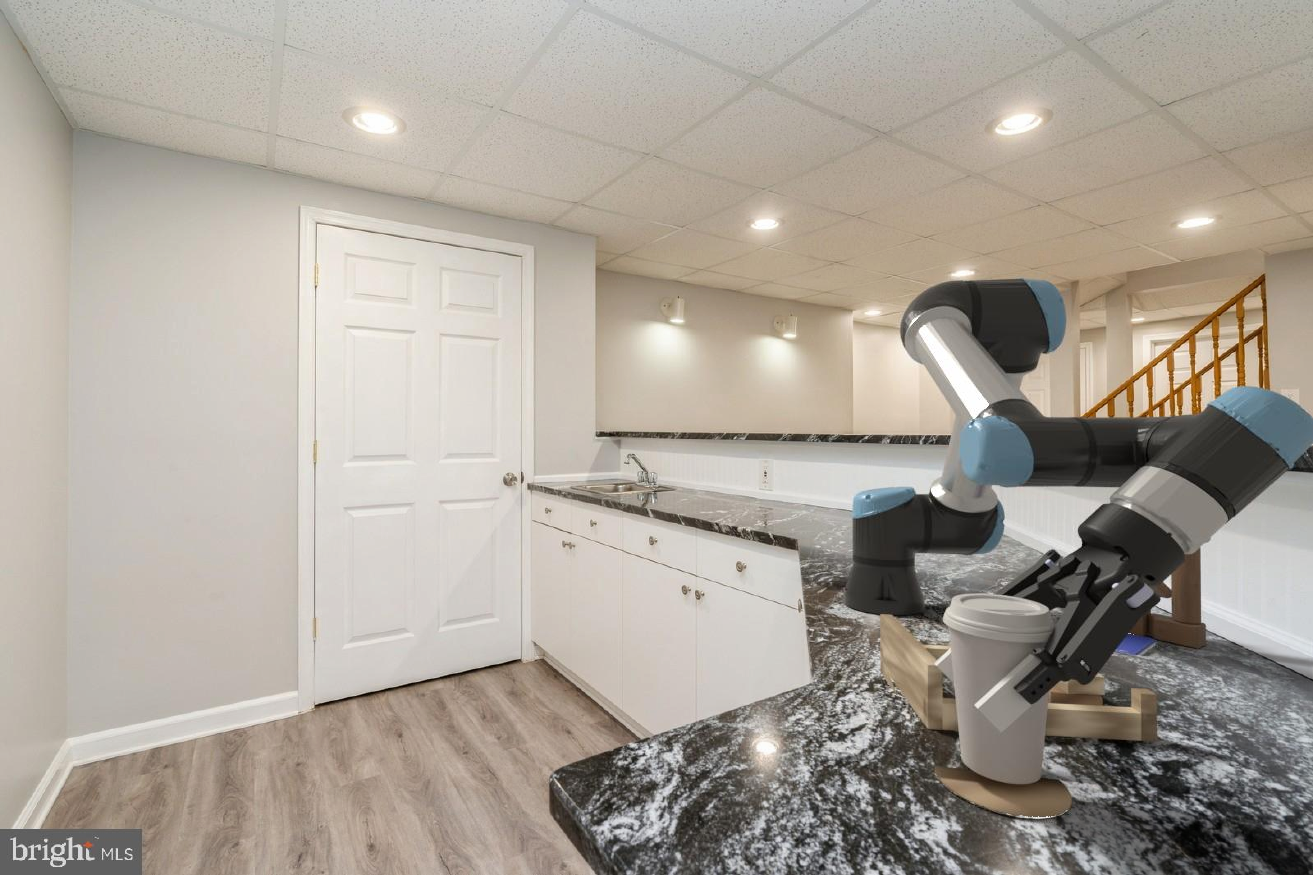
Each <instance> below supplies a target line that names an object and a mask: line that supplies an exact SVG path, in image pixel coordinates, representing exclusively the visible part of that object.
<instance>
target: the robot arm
mask: <svg viewBox="0 0 1313 875" xmlns="http://www.w3.org/2000/svg"><path fill="white" fill-rule="evenodd" d="M899 326H900V328H899V334H900V339H901V343H902V345H903V348H904V349H905V351H906V352H907V354H908V356H909V357H910V358H911V359H912V360H913V361H915V362H916V363H918V364H921V365H923V366H924V367H925V369H926V370H927V372H928V374H929V376H930V377H931V378H932V380H933V382H934V384H936V386H937V388H938V389H939V391H940V392H941V394H942V395H943V397H944V399H945V400H946V402H947V403H948V405H949V407H950V408H951V409H952V412H954V414H955V417H954V421H953V425H952V431H951V436H950V439H949V443H948V448H947V451H946V456H945V457H946V458H945V460H944V466H943V469H942V474H941V476H939V477H937V478H936V479H934V480H933V481H932V482H931V484H930V487H929V492H928V493H917V492H916V490H915V488H914V487H912V486H896V487H895V486H890V487H880V488H872V489H867V490H862V491H860V492H857V493H856V494H855V495H854V497H853V500H852V512H851V514H850V515H851V518H852V519H851V520H852V565H851V569H850V571H849V573H848V578H847V582H846V586H845V587H844V589H843V604H844V605H845V606H847V607H849V608H851V609H854V610H857V611H860V612H866V613H869V614H875V615H876V614H878V615H880V614H887V615H892V616H909V615H918V614H921V613H923V612H924V611H926V602H925V601H926V599H925V595H924V593H923V591H922V587H921V585H920V581H919V577H918V575H917V572H916V554H933V555H935V554H937V555H963V556H973V555H986V554H989V553H991V552H992V551H994V550H995V549H996V548H997V547H998V545H999V544H1000V542H1001V541H1002V538H1003V535H1004V531H1005V523H1004V521H1005V519H1006V516H1005V515H1006V514H1005V510H1004V507H1003V504H1002V503H1001V501H1000V499H999V498H998V495H997V493H996V492H995V490H994V489H993V486H997V487H998V486H999V487H1002V488H1017V487H1018V488H1019V487H1020V488H1021V487H1023V488H1027V487H1028V488H1031V487H1033V488H1034V487H1036V488H1037V487H1039V488H1040V487H1042V488H1043V487H1046V488H1047V487H1048V488H1049V487H1052V488H1053V487H1058V488H1059V487H1061V488H1062V487H1075V488H1077V487H1078V488H1082V487H1084V488H1117V489H1116V490H1115V491H1114V492H1113V493H1112V494H1111V495H1110V497H1109V503H1108V502H1107V503H1102V504H1101V505H1100V506H1098V507H1097V508H1096V509H1095V511H1093V512H1092V513H1091V514H1090V515H1089V516H1088V517H1087V518H1085V519H1084V520H1083V522H1081V524H1079V525H1078V528H1077V535H1078V537H1079V538H1080V540H1081V546H1080V547H1079V548H1077V549H1076V550H1074V551H1073V552H1071V553H1069V554H1067V555H1066V556H1062V555H1061V554H1060V553H1059V552H1058V551H1057V550H1056V549H1053V548H1052V549H1049V550H1047V551H1046V552H1045V553H1044V554H1043V556H1042V557H1040V558H1039V559H1038V561H1036V563H1034V564H1033V565H1031V566H1030V567H1029V568H1028V569H1026V570H1025V571H1023V572H1022V573H1021V574H1019V575H1018V576H1016V578H1014V579H1012V580H1011V581H1010V582H1008V583H1007V584H1006V585H1004V586H1003V587H1002V588H1000V589H999V590H998V591H996V592H995V593H994V594H996V595H1005V596H1012V597H1018V598H1023V599H1027V600H1031V601H1034V602H1038V603H1040V604H1043V605H1045V606H1046V607H1048V609H1049V611H1050V612H1051V611H1052V610H1054V609H1056V608H1060V609H1063V611H1062V613H1061V615H1060V617H1059V619H1058V621H1056V623H1057V624H1056V626H1055V628H1054V630H1053V632H1052V633H1051V635H1050V637H1049V639H1048V641H1047V643H1046V644H1045V646H1044V648H1043V649H1042V648H1035V649H1034V648H1033V650H1032V652H1033V653H1034V654H1035V655H1036V656H1037V657H1038V658H1039V659H1040V660H1041V661H1042V662H1040V661H1039V660H1038V659H1036V658H1035V657H1034V656H1033V655H1031V654H1029V655H1028V656H1027V657H1026V658H1025V659H1024V660H1023V661H1022V662H1021V663H1020V664H1019V665H1017V666H1016V667H1015V668H1014V669H1013V670H1012V671H1011V672H1010V673H1009V674H1008V675H1006V676H1005V677H1004V678H1003V679H1002V680H1001V681H1000V682H999V683H998V684H997V685H995V686H994V687H993V688H992V689H991V690H990V691H989V692H988V693H987V694H986V695H985V696H983V697H982V698H981V699H980V700H979V701H978V702H977V703H976V704H975V706H976V707H977V709H978V710H979V711H980V712H981V713H982V714H983V715H984V716H985V717H986V718H987V719H988V720H989V721H990V722H991V723H992V724H993V725H994V726H995V727H996V728H997V729H998V730H999V731H1000V732H1001V733H1002V732H1003V731H1004V730H1005V729H1006V728H1007V727H1008V726H1009V725H1010V724H1012V723H1013V722H1014V721H1015V720H1016V719H1017V718H1018V717H1019V716H1020V715H1022V714H1023V713H1024V712H1025V711H1026V710H1027V709H1028V708H1029V707H1030V706H1031V705H1033V704H1034V703H1036V702H1037V701H1038V700H1040V699H1041V698H1042V696H1044V695H1045V693H1047V692H1048V691H1050V690H1051V689H1052V688H1053V687H1054V686H1055V685H1056V684H1057V683H1058V682H1060V681H1063V682H1067V681H1069V680H1071V679H1072V680H1077V681H1078V682H1079V683H1080V684H1081V685H1087V684H1089V683H1090V682H1091V681H1092V680H1093V679H1094V678H1095V676H1096V675H1097V674H1099V672H1100V671H1101V670H1102V668H1103V667H1104V666H1105V664H1106V663H1107V662H1108V660H1109V659H1110V658H1111V657H1112V656H1113V653H1114V651H1115V650H1116V649H1117V648H1118V646H1119V645H1120V644H1121V642H1122V641H1123V640H1124V638H1125V637H1126V636H1127V635H1128V633H1129V632H1130V631H1131V629H1132V628H1133V627H1134V625H1135V624H1136V623H1137V622H1138V620H1139V619H1140V618H1141V617H1142V616H1143V615H1144V614H1146V613H1147V612H1148V611H1149V610H1151V611H1152V609H1153V608H1154V607H1156V605H1158V604H1159V603H1161V598H1162V597H1159V596H1158V595H1157V594H1156V593H1155V592H1154V591H1153V590H1152V589H1151V588H1150V587H1155V586H1158V585H1160V584H1161V583H1162V582H1165V581H1166V580H1167V579H1168V578H1169V577H1171V574H1172V573H1173V572H1174V571H1175V570H1177V569H1178V568H1179V567H1180V566H1181V565H1182V564H1183V563H1184V562H1185V554H1193V553H1194V552H1195V551H1197V550H1198V549H1199V548H1200V547H1202V546H1203V545H1204V544H1208V543H1209V542H1210V541H1211V539H1212V537H1213V536H1214V535H1215V534H1216V533H1218V531H1219V530H1220V529H1221V528H1223V527H1224V526H1225V525H1226V524H1227V523H1229V522H1230V521H1231V520H1232V519H1233V518H1235V517H1236V516H1237V515H1238V514H1239V513H1240V512H1242V511H1243V510H1244V509H1245V508H1246V507H1247V506H1249V505H1250V504H1251V503H1252V502H1253V501H1254V500H1256V499H1257V498H1258V497H1259V496H1260V495H1261V494H1262V493H1263V492H1264V491H1266V490H1267V489H1268V488H1269V487H1270V486H1272V485H1273V484H1274V483H1275V482H1276V481H1278V479H1280V478H1281V477H1282V476H1284V474H1285V473H1286V472H1288V471H1290V470H1292V469H1293V468H1294V466H1295V462H1297V461H1298V460H1299V459H1300V458H1301V457H1302V455H1303V454H1305V452H1306V451H1307V450H1309V448H1310V447H1311V446H1312V445H1313V416H1312V415H1311V413H1309V412H1307V411H1306V410H1305V409H1304V408H1302V406H1301V405H1300V404H1298V403H1297V402H1296V401H1294V400H1293V399H1291V398H1289V397H1287V396H1285V395H1283V394H1281V393H1278V392H1276V391H1273V390H1271V389H1266V388H1262V387H1260V386H1259V387H1258V386H1250V385H1249V386H1248V385H1246V386H1245V385H1242V386H1235V387H1232V388H1229V389H1227V390H1226V391H1225V392H1223V393H1222V394H1220V395H1219V396H1218V397H1216V398H1215V399H1213V401H1212V400H1211V401H1209V402H1208V403H1207V404H1206V405H1207V406H1206V407H1205V408H1204V409H1203V410H1202V411H1201V412H1199V413H1196V414H1180V415H1175V416H1144V417H1141V416H1137V417H1135V416H1134V417H1133V416H1132V417H1124V416H1123V417H1121V416H1120V417H1119V416H1118V417H1115V416H1114V417H1109V416H1108V417H1103V416H1102V417H1099V416H1098V417H1096V416H1095V417H1078V416H1073V417H1072V416H1069V417H1067V416H1066V417H1065V416H1063V417H1062V416H1060V417H1059V416H1055V417H1054V416H1053V417H1052V416H1045V415H1043V413H1042V412H1041V411H1040V410H1039V409H1038V408H1037V407H1036V406H1035V405H1034V404H1033V403H1032V402H1031V401H1030V399H1029V398H1028V397H1027V396H1026V395H1025V394H1024V393H1023V391H1022V390H1021V386H1022V382H1023V379H1024V376H1026V375H1028V374H1031V373H1033V372H1034V371H1036V370H1037V368H1038V365H1039V364H1038V363H1039V361H1040V359H1041V358H1040V357H1041V354H1043V355H1048V354H1050V353H1053V352H1055V351H1056V350H1057V349H1058V348H1059V347H1060V346H1061V345H1062V343H1063V340H1064V337H1065V335H1066V334H1065V333H1066V329H1067V312H1066V306H1065V303H1064V298H1063V296H1062V294H1061V291H1060V290H1059V288H1057V286H1055V284H1053V283H1052V282H1050V281H1049V280H1046V279H1032V278H1031V279H1030V278H1024V277H1018V278H1002V279H1000V278H999V279H978V280H977V279H976V280H972V279H971V280H958V279H957V280H949V281H944V282H941V283H937V284H935V285H933V286H931V287H928V288H927V289H925V290H924V291H922V292H921V293H919V294H918V295H917V296H916V297H915V298H914V299H913V300H912V301H911V302H910V303H909V305H908V306H907V308H906V309H905V311H904V314H903V315H902V318H901V322H900V325H899ZM1081 662H1083V664H1082V663H1081ZM934 664H935V665H936V666H937V667H938V668H939V669H940V670H941V671H942V674H943V675H945V676H946V677H947V678H948V679H949V680H950V681H951V682H952V683H953V684H954V676H953V666H952V656H951V648H950V649H949V650H948V651H947V652H946V653H945V654H944V655H943V656H941V657H940V658H939V659H938V660H937V661H936V662H935V663H934Z"/></svg>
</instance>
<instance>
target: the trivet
mask: <svg viewBox="0 0 1313 875" xmlns="http://www.w3.org/2000/svg"><path fill="white" fill-rule="evenodd" d="M934 774H935V776H936V775H937V776H936V778H937V779H938V778H939V780H940V781H941V782H942V783H943V784H944V785H945V786H946V787H948V788H949V789H950V790H951V791H952V792H955V793H956V794H957V795H959V796H961V797H963V798H965V799H967V800H969V801H972V802H975V803H976V804H978V805H980V806H984V807H986V808H988V809H989V810H996V811H999V812H1004V813H1008V814H1011V815H1023V816H1028V817H1029V816H1030V817H1032V816H1033V817H1038V816H1039V817H1046V816H1048V817H1049V816H1050V817H1051V816H1055V815H1060V814H1062V813H1064V812H1065V811H1066V810H1068V809H1069V808H1070V809H1071V807H1072V794H1071V792H1070V790H1069V788H1068V787H1067V785H1066V784H1065V783H1063V781H1062V780H1061V779H1056V778H1047V777H1041V778H1040V779H1039V780H1038V781H1036V782H1034V783H1030V784H1011V783H1004V782H1000V781H996V780H993V779H990V778H987V777H984V776H982V775H980V774H978V773H976V772H974V771H973V770H971V769H970V768H969V769H968V768H967V769H966V768H961V767H959V768H958V767H951V766H950V767H949V766H940V765H934ZM939 780H938V781H939ZM940 781H939V782H940ZM1070 806H1071V807H1070ZM1070 809H1069V810H1070ZM1069 810H1068V811H1069Z"/></svg>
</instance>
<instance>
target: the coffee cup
mask: <svg viewBox="0 0 1313 875" xmlns="http://www.w3.org/2000/svg"><path fill="white" fill-rule="evenodd" d="M942 622H943V623H944V624H945V625H946V626H948V635H949V646H951V656H952V666H953V676H954V683H953V686H954V695H955V699H956V707H957V718H958V728H959V731H958V735H959V747H960V757H961V761H962V763H963V764H964V765H965V766H966V767H967V769H968V768H969V770H973V771H974V772H976V773H978V774H980V775H982V776H984V777H987V778H990V779H993V780H996V781H1000V782H1004V783H1011V784H1030V783H1034V782H1036V781H1038V780H1039V779H1040V778H1042V772H1043V762H1044V751H1045V750H1044V749H1045V738H1046V735H1045V729H1046V718H1047V707H1048V697H1049V691H1048V692H1047V693H1045V695H1044V696H1042V698H1041V699H1040V700H1038V701H1037V702H1036V703H1034V704H1033V705H1031V706H1030V707H1029V708H1028V709H1027V710H1026V711H1025V712H1024V713H1023V714H1022V715H1020V716H1019V717H1018V718H1017V719H1016V720H1015V721H1014V722H1013V723H1012V724H1010V725H1009V726H1008V727H1007V728H1006V729H1005V730H1004V731H1003V732H1002V733H1001V732H1000V731H999V730H998V729H997V728H996V727H995V726H994V725H993V724H992V723H991V722H990V721H989V720H988V719H987V718H986V717H985V716H984V715H983V714H982V713H981V712H980V711H979V710H978V709H977V707H976V706H975V704H976V703H977V702H978V701H979V700H980V699H981V698H982V697H983V696H985V695H986V694H987V693H988V692H989V691H990V690H991V689H992V688H993V687H994V686H995V685H997V684H998V683H999V682H1000V681H1001V680H1002V679H1003V678H1004V677H1005V676H1006V675H1008V674H1009V673H1010V672H1011V671H1012V670H1013V669H1014V668H1015V667H1016V666H1017V665H1019V664H1020V663H1021V662H1022V661H1023V660H1024V659H1025V658H1026V657H1027V656H1028V655H1029V654H1031V655H1033V656H1034V657H1035V658H1036V659H1038V660H1039V661H1040V662H1042V661H1041V660H1040V659H1039V658H1038V657H1037V656H1036V655H1035V654H1034V653H1033V652H1032V650H1033V648H1034V649H1035V648H1042V649H1043V648H1044V646H1045V644H1046V643H1047V641H1048V639H1049V637H1050V635H1051V633H1052V632H1053V630H1054V628H1055V626H1056V624H1057V621H1056V620H1055V619H1054V618H1052V615H1051V611H1049V609H1048V607H1046V606H1045V605H1043V604H1040V603H1038V602H1034V601H1031V600H1027V599H1023V598H1018V597H1012V596H1005V595H996V594H995V593H963V594H958V595H957V594H956V595H955V596H953V597H952V598H951V602H950V605H949V606H947V608H946V609H945V611H944V614H943V617H942Z"/></svg>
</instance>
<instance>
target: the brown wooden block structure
mask: <svg viewBox="0 0 1313 875" xmlns="http://www.w3.org/2000/svg"><path fill="white" fill-rule="evenodd" d="M1201 547H1202V546H1201ZM1201 547H1200V548H1199V549H1198V550H1197V551H1195V552H1194V553H1193V554H1185V562H1184V563H1183V564H1182V565H1181V566H1180V567H1179V568H1178V569H1177V570H1175V571H1174V572H1173V573H1172V574H1171V575H1170V578H1171V581H1170V583H1171V584H1170V586H1171V588H1170V587H1169V586H1168V585H1167V584H1166V583H1165V581H1163V582H1162V583H1161V584H1160V585H1158V586H1155V587H1150V588H1151V589H1152V590H1153V591H1154V592H1155V593H1156V594H1157V595H1158V596H1159V597H1160V598H1163V599H1170V600H1171V616H1169V615H1165V614H1158V613H1153V612H1152V609H1151V610H1149V611H1148V612H1147V613H1146V614H1144V615H1143V616H1142V617H1141V618H1140V619H1139V620H1138V622H1137V623H1136V624H1135V625H1134V627H1133V628H1132V629H1131V631H1130V632H1129V633H1131V634H1134V635H1138V636H1143V637H1146V636H1149V637H1151V636H1152V637H1151V638H1152V639H1154V640H1156V639H1157V640H1156V641H1161V642H1164V641H1167V642H1166V643H1169V642H1172V643H1171V644H1173V643H1175V645H1178V644H1179V645H1178V646H1182V645H1183V647H1187V646H1190V647H1189V648H1191V647H1193V648H1192V649H1196V648H1198V649H1200V648H1202V646H1203V647H1205V646H1207V625H1206V623H1205V622H1202V565H1201V562H1202V560H1201V559H1202V558H1201V556H1202V555H1201V552H1202V551H1201ZM1147 634H1148V635H1147ZM1145 635H1146V636H1145Z"/></svg>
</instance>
